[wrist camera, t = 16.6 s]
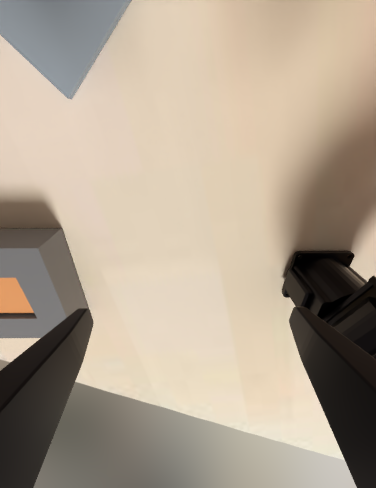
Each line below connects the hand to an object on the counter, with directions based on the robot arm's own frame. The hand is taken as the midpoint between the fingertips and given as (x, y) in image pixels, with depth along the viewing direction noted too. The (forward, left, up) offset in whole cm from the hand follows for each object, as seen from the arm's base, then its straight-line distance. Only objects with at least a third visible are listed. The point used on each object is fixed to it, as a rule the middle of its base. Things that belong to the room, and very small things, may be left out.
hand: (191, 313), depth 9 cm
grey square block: (+19, +8, -13) cm, 24 cm away
